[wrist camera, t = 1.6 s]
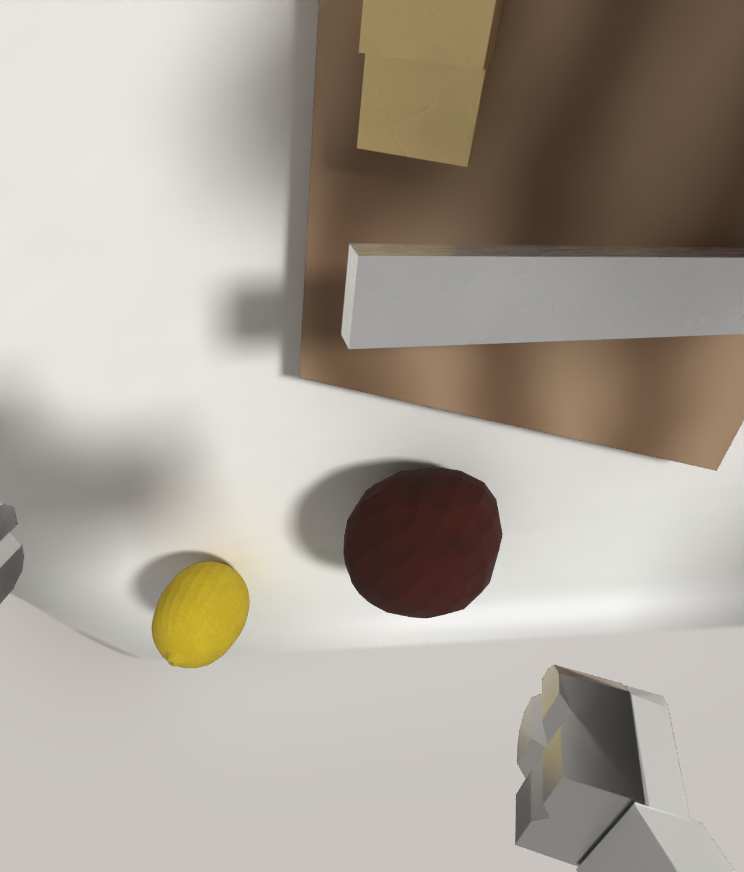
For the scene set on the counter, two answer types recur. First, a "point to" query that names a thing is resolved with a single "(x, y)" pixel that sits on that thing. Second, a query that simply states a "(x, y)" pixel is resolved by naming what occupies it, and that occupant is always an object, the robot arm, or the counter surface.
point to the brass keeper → (425, 75)
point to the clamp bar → (537, 293)
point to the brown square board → (549, 213)
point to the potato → (423, 542)
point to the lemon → (200, 614)
